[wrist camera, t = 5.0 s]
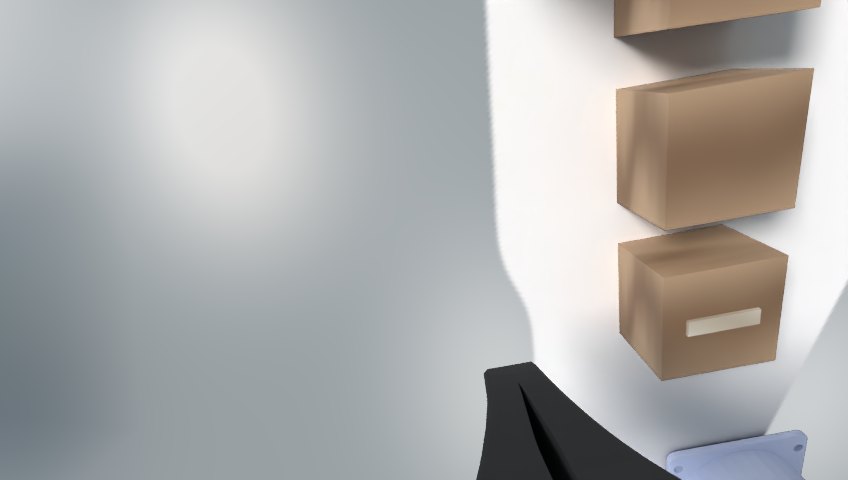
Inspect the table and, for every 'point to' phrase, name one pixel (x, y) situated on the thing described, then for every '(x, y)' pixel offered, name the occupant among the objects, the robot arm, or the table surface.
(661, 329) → the digit block one
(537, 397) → the robot arm
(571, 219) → the table surface
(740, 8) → the digit block seven
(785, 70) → the blank block
